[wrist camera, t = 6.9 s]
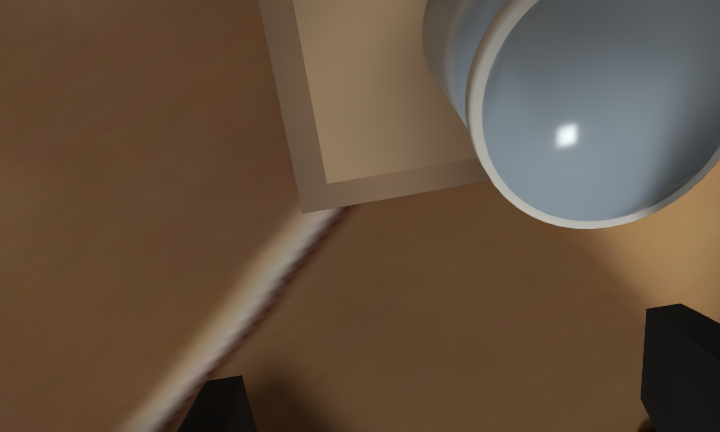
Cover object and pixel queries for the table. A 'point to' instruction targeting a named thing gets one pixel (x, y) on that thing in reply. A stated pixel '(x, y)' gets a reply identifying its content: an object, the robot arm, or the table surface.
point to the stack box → (363, 102)
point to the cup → (583, 100)
